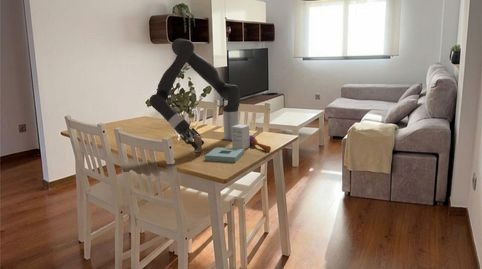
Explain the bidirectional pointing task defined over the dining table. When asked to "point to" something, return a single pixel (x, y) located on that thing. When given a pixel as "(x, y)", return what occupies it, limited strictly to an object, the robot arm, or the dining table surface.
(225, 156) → the board
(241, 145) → the supplement box
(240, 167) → the dining table surface
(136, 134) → the dining table surface
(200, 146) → the peg
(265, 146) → the kendama
